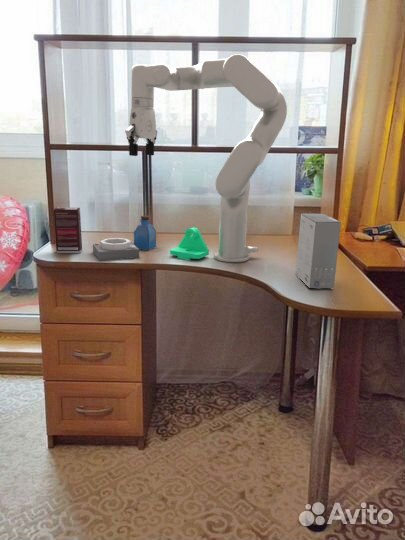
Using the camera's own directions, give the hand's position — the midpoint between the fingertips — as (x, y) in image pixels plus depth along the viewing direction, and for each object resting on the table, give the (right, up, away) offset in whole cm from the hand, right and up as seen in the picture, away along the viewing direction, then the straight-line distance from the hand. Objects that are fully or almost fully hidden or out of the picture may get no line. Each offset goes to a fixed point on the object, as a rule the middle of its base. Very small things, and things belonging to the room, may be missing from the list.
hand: (141, 155), depth 169 cm
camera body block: (-10, -35, +2) cm, 36 cm away
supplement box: (-27, -34, +5) cm, 44 cm away
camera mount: (+16, -36, +2) cm, 40 cm away
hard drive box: (+55, -44, -23) cm, 74 cm away
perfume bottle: (-1, -32, +14) cm, 35 cm away
